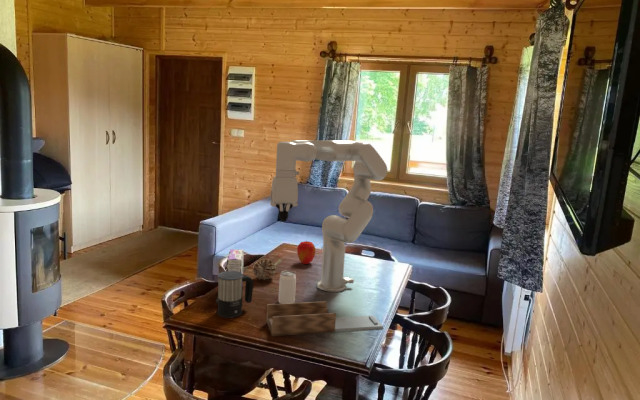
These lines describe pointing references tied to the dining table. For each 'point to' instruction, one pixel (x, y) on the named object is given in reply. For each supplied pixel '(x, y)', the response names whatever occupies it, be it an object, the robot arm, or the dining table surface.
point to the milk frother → (232, 293)
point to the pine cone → (265, 268)
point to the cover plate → (357, 323)
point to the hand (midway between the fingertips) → (283, 220)
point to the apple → (306, 252)
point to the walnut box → (300, 318)
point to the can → (287, 287)
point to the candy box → (235, 260)
